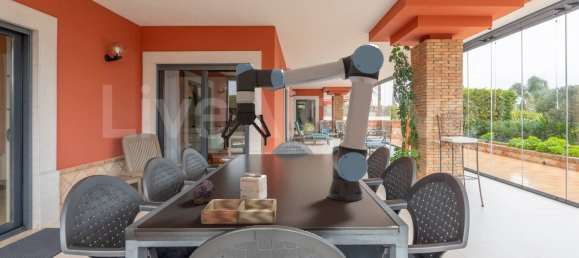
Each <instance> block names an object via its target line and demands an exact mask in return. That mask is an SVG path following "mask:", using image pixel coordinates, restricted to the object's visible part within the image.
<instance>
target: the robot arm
mask: <svg viewBox="0 0 579 258" xmlns="http://www.w3.org/2000/svg"><path fill="white" fill-rule="evenodd" d="M384 62H385V56H384V53H383V51H382V50H381V49H380V47H378V46H377V45H374V44H371V43H366V44H363V45H360V46H358V47H357V48H356V49H355V50H354V51H353V53H352V54H350V55H347V56H345V57H339V59H338V60H337V61H331V62H325V63H321V64H316V65H315V64H314V65H310V66H309V65H308V66H305V67H300V68H294V69H293V68H292V69H288V70H284V69H282V68H281V69H279V68H269V69H267V68H261V69H260V68H259V69H257V68H256V67H255V65H254V64H252V63H239V64H238V65H236V67H235V68H236V69H235V71H236V73H235V87H236V88H235V90H236V91H235V92H236V94H235V95H236V98H235V99H236V114H235V115H233V114H228V120H227V123H226V124H225V126H224V128H223V131H222V133H221V134H220V137H221V138H222V139H224V140H225V147H226V148H228V154H227V155H228V157H229V156H230V157H231V156H232V139H231V137H232V135H233V134H234V133H235V132H236V131H237V129H238V128H239V127H240V126H253V128H254V129H255V131H257V132H258V133H259V135H260V136H261V138H260V153H261V155H265V147H266V146H267V145H268V143H267V141H268V140H267V138H269V137H272V134H271V132H270V129H269V128H268V126H267V124H266V122H265V119H264V115H263V114H257V115H256V104H255V102H256V91H255V90H256V89H266V90H268V91H269V92H276V91H278V90H282V89H288V88H292V87H293V88H294V87H299V86H304V85H309V84H315V83H320V82H326V81H332V80H339V79H341V80H344V81H345V80H350V82H351V86H350V93H349V100H348V107H347V114H346V121H345V126H344V134H343V141H342V142H340V143H339V144H338V145H336V146H333V147H332V151H331V153H332V179H331V183H330V186H329V189H328V198H330V199H331V200H335V201H339V202H340V201H341V202H343V201H344V202H354V201H360V200H362V199H363V198H364V196H363V190H362V185H361V183H360V180H361V179H363V178H364V177H365V176H366V175H367V173H368V169H369V166H368V165H369V164H368V160H367V158H368V150H369V149H368V147H367V146H366V138H367V131H368V130H367V129H368V124H369V118H370V111H371V103H372V98H373V97H372V96H373V91H374V86H375V84H377V83H378V82H379V76H380V71H381V69H382V67H383V65H384ZM256 119H257V120H258V121H259V122H260V124H261V126H262V128H263V130H264V131H263V130H262V129H261V128H260V127H259V126H258V124H257V123H256V122H255V121H256ZM234 120H236V121H237V122H236V123H235V125H234V126H233V127H232V128H231V129H230V126H231V124H232V122H233V121H234ZM229 129H230V131H229V132H228V130H229Z"/></svg>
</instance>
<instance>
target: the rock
mask: <svg viewBox="0 0 579 258" xmlns="http://www.w3.org/2000/svg"><path fill="white" fill-rule="evenodd" d="M215 190H216V187H215V185H214V184H213V182H212V181H211V180H208V179H201V180H200V181H199V182H198V183H196V184H195V186H194V189H193V192H192V195H193V197H192V199H193V203H194V204H197V205H203V204H204V203H210V201H211V200H212V197H213V196H214V194H215Z"/></svg>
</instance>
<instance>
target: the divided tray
mask: <svg viewBox="0 0 579 258" xmlns="http://www.w3.org/2000/svg"><path fill="white" fill-rule="evenodd" d="M276 215H277V198H267V199H241V198H240V199H239V198H237V199H236V198H232V199H231V198H229V199H228V198H227V199H226V198H223V199H222V198H219V199H218V198H217V199H215V198H213V199H212V198H211V199H210V201H209V202H208V204H207V205H206V206H205V207H204V208H203V209H202V210H201V211H200V224H201V225H202V224H203V225H205V224H206V225H210V224H211V225H213V224H214V225H215V224H217V225H218V224H220V225H221V224H222V225H224V224H225V225H227V224H231V225H233V224H234V225H235V224H276V217H277V216H276Z"/></svg>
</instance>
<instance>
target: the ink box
mask: <svg viewBox="0 0 579 258" xmlns="http://www.w3.org/2000/svg"><path fill="white" fill-rule="evenodd" d="M243 175H244V176H242V177H239V185H240V186H239V187H240V189H239V191H240V199H268V192H267V191H268V185H267V183H268V182H267V181H268V180H267V175H266V174H261V173H259V172H243Z"/></svg>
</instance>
